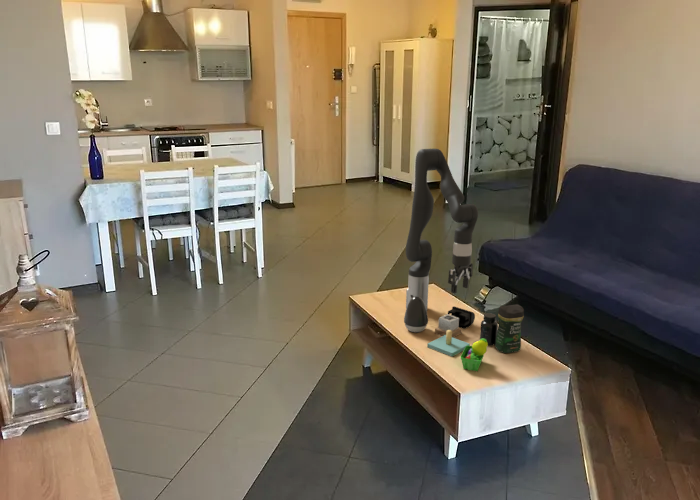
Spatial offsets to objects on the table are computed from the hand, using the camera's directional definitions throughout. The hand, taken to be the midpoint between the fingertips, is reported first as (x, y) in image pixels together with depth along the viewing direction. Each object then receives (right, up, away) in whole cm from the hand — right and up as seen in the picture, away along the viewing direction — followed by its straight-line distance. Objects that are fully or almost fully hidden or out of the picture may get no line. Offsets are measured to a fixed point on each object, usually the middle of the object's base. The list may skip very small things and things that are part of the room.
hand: (459, 290), depth 240 cm
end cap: (+3, -16, +15) cm, 23 cm away
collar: (-4, -17, +5) cm, 18 cm away
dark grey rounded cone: (-17, -18, +9) cm, 26 cm away
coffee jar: (+18, -23, -9) cm, 30 cm away
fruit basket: (+1, -27, -22) cm, 35 cm away
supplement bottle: (+11, -21, -3) cm, 24 cm away
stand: (-4, -19, +6) cm, 20 cm away
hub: (-6, -22, -7) cm, 24 cm away
